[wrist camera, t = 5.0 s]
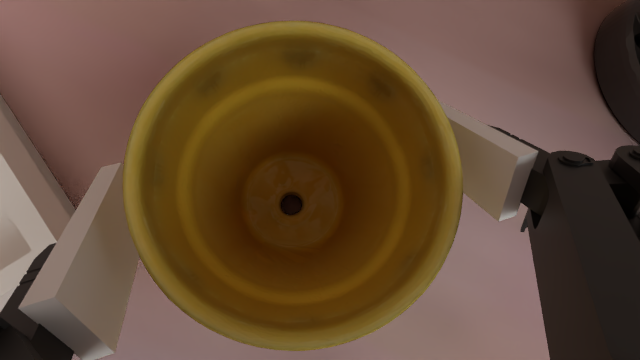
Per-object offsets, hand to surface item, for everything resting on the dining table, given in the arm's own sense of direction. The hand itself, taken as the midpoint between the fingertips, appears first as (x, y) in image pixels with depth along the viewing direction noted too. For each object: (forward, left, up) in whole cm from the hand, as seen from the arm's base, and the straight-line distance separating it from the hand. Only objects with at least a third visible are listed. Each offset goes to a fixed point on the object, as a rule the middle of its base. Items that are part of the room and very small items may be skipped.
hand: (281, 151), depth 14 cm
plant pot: (+1, +2, -5) cm, 5 cm away
